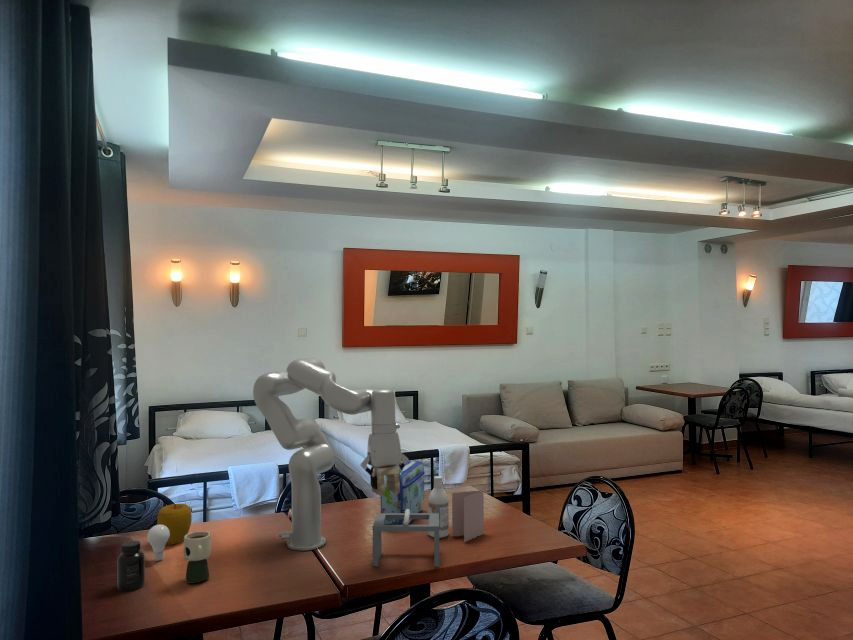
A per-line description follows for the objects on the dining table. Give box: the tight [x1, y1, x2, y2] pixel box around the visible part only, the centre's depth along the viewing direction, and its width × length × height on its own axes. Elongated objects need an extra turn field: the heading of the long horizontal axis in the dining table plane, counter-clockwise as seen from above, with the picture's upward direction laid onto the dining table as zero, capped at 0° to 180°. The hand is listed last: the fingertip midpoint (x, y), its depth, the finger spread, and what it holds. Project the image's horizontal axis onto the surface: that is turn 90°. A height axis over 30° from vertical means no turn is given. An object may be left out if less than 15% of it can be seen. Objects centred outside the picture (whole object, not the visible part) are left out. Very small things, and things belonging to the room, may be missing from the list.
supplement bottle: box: [116, 540, 146, 592], centre depth 168 cm, size 7×7×12 cm
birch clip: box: [370, 465, 400, 497], centre depth 187 cm, size 7×7×8 cm
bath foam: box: [427, 475, 450, 539], centre depth 209 cm, size 7×7×20 cm
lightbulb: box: [146, 524, 170, 562], centre depth 187 cm, size 6×6×11 cm
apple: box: [156, 503, 193, 546], centre depth 203 cm, size 11×11×13 cm
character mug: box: [183, 530, 212, 584], centre depth 172 cm, size 11×7×13 cm, turn 28°
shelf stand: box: [372, 509, 440, 568], centre depth 187 cm, size 20×13×14 cm, turn 89°
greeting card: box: [451, 490, 485, 543], centre depth 206 cm, size 11×7×15 cm, turn 105°
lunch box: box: [379, 460, 426, 525], centre depth 227 cm, size 26×11×21 cm, turn 162°
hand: (385, 486), depth 187 cm, fingers closed on birch clip, 6 cm apart
